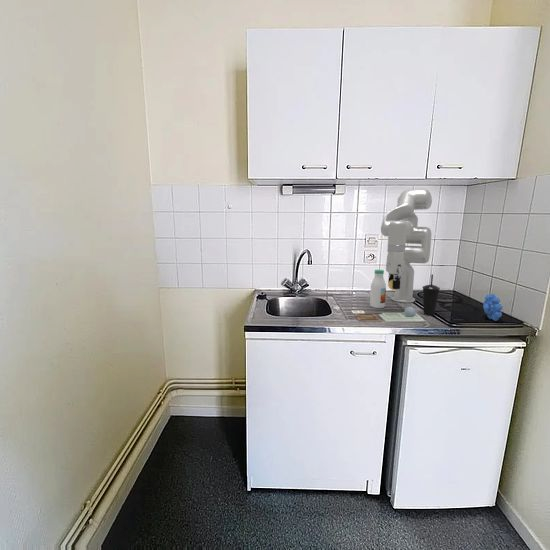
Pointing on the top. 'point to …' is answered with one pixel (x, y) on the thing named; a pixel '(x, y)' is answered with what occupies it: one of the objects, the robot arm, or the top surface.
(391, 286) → the ochre ball
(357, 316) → the coaster
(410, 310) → the slate ball
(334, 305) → the top surface
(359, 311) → the tile
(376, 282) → the milk bottle
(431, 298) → the drinking cup
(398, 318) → the rack
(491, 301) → the grapes
